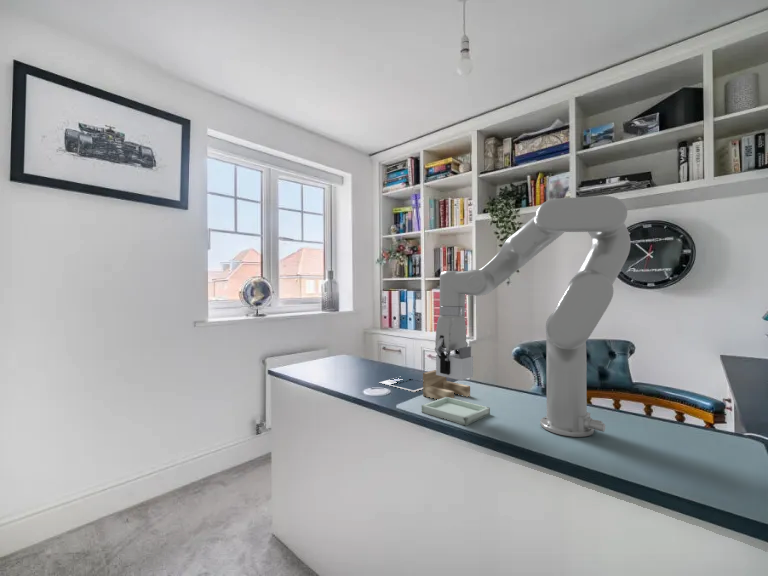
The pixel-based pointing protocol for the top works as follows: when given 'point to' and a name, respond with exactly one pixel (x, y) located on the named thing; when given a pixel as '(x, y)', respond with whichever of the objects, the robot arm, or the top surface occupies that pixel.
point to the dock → (442, 386)
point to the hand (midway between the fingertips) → (451, 371)
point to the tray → (456, 410)
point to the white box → (458, 364)
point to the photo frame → (389, 382)
